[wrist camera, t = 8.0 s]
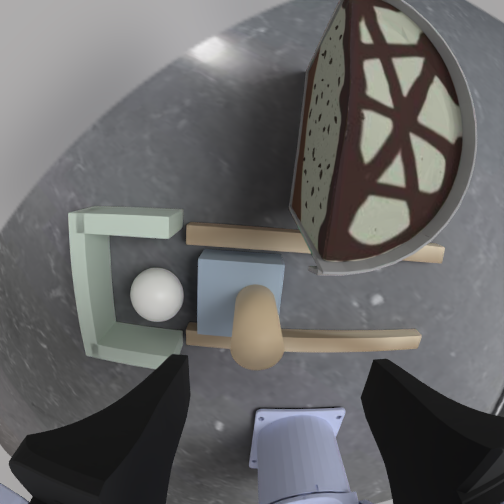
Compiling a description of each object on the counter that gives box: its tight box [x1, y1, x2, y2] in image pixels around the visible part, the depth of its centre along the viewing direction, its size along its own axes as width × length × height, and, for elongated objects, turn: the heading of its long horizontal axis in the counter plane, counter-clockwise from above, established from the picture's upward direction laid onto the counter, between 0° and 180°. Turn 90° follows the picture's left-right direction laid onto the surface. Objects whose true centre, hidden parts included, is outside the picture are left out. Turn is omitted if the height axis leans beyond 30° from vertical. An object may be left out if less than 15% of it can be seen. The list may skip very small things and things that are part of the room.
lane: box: [186, 222, 445, 352], centre depth 20 cm, size 8×18×1 cm, turn 86°
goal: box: [68, 206, 183, 369], centre depth 18 cm, size 10×7×4 cm, turn 176°
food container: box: [289, 0, 477, 276], centre depth 13 cm, size 12×6×10 cm, turn 173°
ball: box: [130, 268, 184, 322], centre depth 18 cm, size 4×4×4 cm
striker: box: [197, 249, 285, 370], centre depth 16 cm, size 5×5×8 cm
